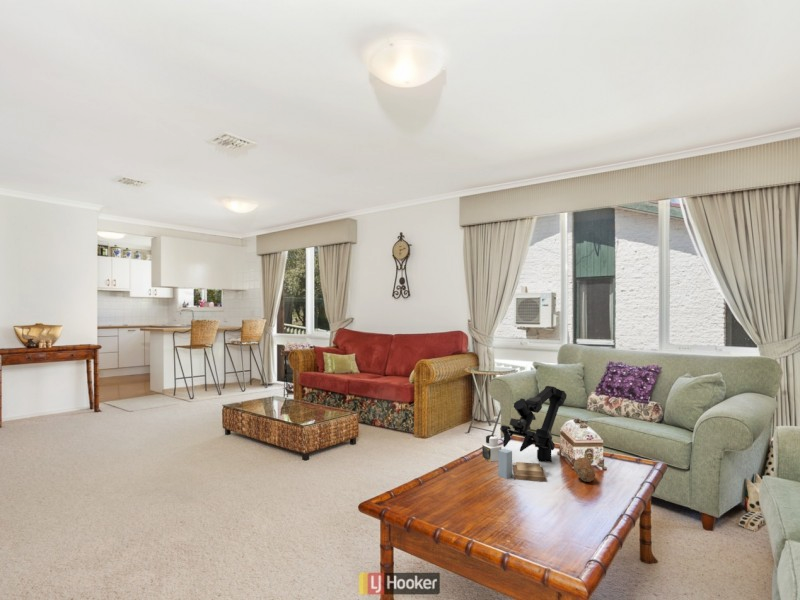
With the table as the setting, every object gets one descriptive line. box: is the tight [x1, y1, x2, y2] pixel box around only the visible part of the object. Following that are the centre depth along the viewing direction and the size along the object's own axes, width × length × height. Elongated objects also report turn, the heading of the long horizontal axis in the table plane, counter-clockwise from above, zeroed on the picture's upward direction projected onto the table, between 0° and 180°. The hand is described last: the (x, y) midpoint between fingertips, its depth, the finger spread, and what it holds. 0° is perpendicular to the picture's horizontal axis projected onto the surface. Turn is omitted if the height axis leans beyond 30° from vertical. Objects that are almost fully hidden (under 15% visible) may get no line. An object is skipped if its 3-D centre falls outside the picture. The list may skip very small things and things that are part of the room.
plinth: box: [512, 461, 547, 483], centre depth 216 cm, size 14×14×4 cm
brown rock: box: [573, 456, 596, 483], centre depth 211 cm, size 10×13×10 cm
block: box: [497, 448, 513, 480], centre depth 215 cm, size 4×4×12 cm
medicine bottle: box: [482, 434, 502, 463], centre depth 239 cm, size 7×7×12 cm
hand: (512, 448), depth 218 cm, fingers open, 9 cm apart
